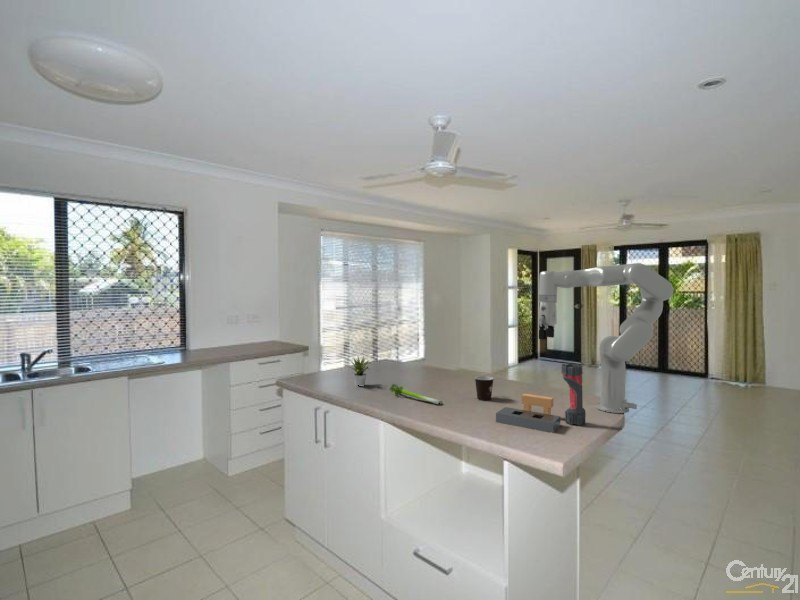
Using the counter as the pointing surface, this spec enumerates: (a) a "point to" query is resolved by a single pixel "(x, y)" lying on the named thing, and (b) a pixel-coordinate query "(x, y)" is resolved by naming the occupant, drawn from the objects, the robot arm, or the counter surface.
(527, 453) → the counter surface
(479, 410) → the counter surface
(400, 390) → the green celery stalk
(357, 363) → the house plant
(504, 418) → the dark gray slotted block
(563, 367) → the flashlight
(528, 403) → the tan bridge block
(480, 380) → the coffee mug
